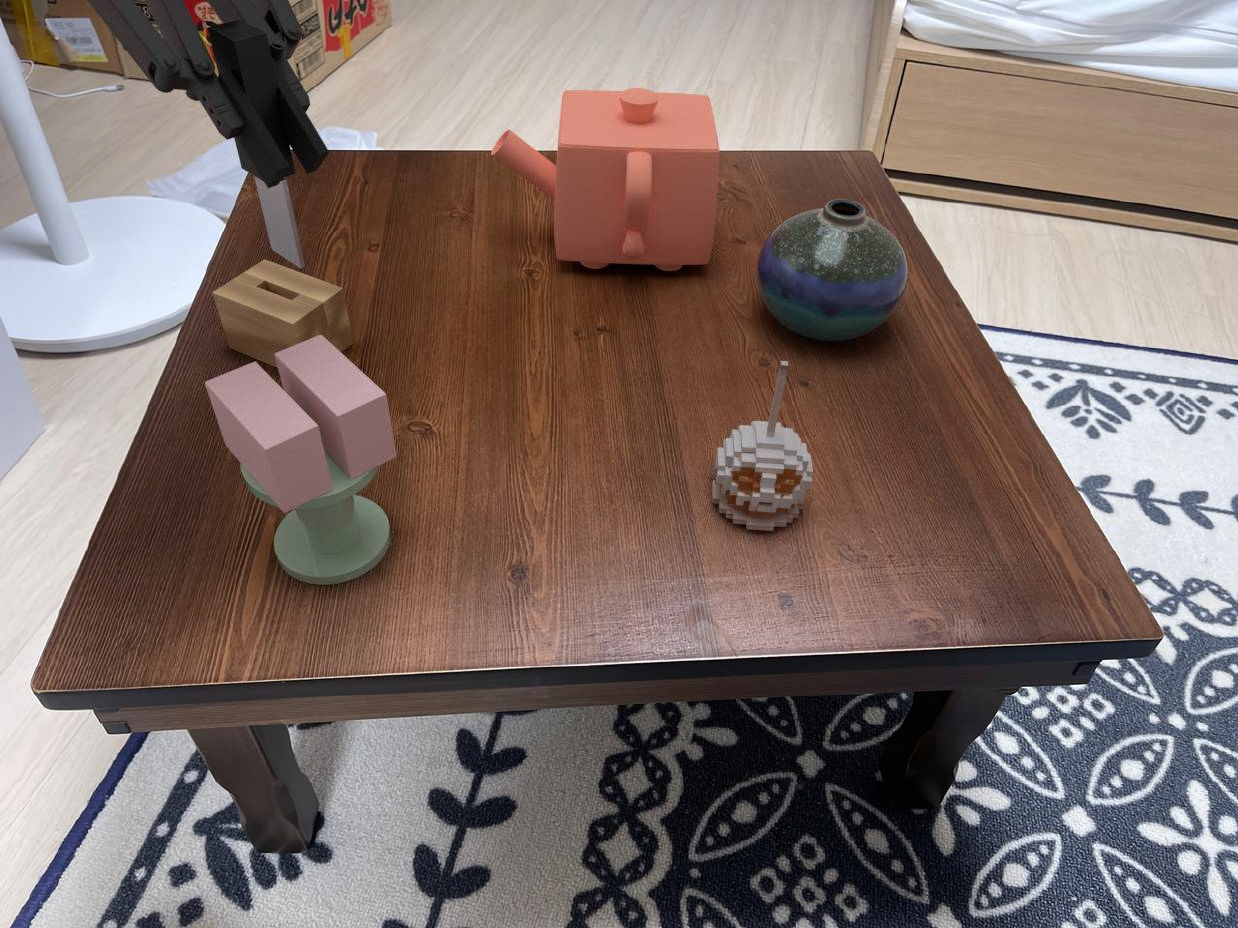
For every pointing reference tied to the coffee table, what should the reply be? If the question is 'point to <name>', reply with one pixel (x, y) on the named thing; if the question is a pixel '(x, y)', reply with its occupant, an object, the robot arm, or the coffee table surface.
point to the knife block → (280, 311)
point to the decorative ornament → (763, 471)
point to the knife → (255, 73)
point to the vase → (832, 272)
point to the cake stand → (330, 531)
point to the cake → (303, 421)
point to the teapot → (628, 177)
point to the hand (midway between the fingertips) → (298, 169)
